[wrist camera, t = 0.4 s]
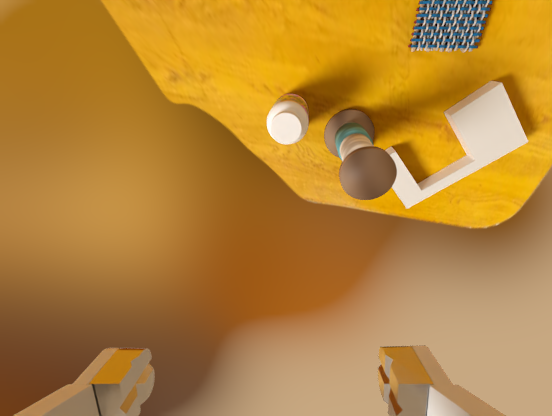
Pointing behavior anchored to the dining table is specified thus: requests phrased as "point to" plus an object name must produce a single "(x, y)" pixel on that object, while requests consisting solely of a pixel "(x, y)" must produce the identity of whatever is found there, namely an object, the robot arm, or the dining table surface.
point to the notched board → (468, 141)
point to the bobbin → (359, 155)
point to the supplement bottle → (288, 119)
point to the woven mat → (449, 24)
